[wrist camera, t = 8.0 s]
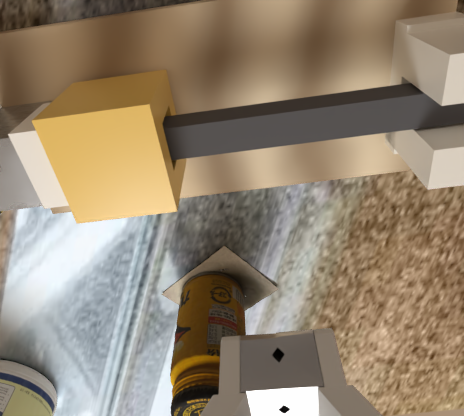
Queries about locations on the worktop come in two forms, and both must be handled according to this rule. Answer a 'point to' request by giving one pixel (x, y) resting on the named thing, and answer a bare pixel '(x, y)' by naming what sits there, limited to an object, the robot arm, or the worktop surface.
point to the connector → (15, 162)
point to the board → (230, 73)
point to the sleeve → (113, 147)
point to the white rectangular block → (37, 162)
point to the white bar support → (431, 95)
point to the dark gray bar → (305, 120)
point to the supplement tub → (25, 391)
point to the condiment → (209, 324)
